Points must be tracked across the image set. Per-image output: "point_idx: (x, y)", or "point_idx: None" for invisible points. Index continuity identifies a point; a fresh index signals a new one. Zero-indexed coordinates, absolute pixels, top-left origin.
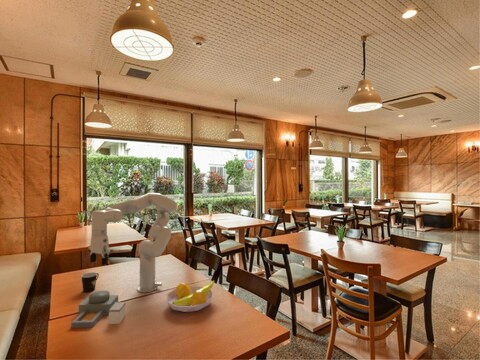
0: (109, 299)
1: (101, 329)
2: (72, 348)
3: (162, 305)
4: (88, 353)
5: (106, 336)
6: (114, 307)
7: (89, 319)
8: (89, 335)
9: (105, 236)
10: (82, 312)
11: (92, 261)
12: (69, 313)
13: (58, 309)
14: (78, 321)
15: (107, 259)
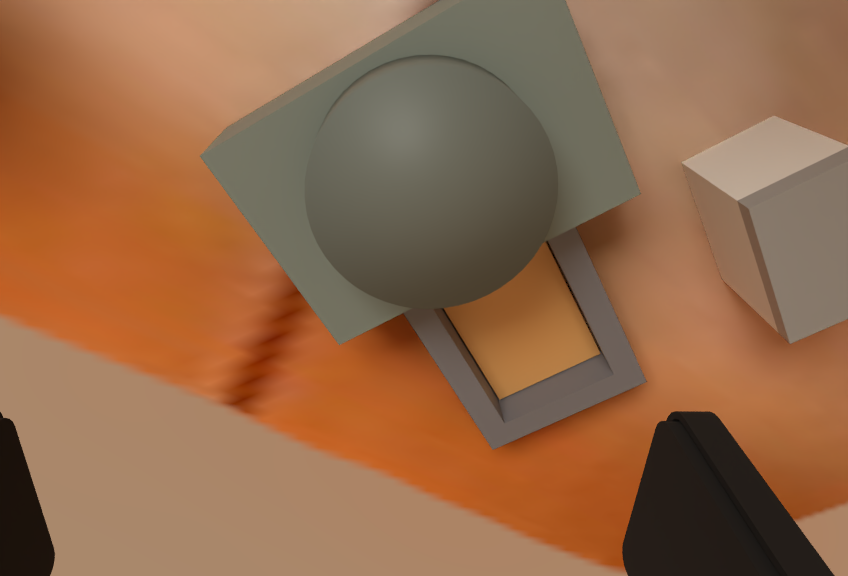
0: (539, 114)
1: (717, 348)
2: None
3: None
4: (811, 504)
5: (811, 381)
6: (812, 291)
7: (522, 315)
8: None
9: None
10: (426, 333)
11: (33, 548)
12: (252, 319)
13: (83, 322)
14: (530, 421)
15: (806, 548)
